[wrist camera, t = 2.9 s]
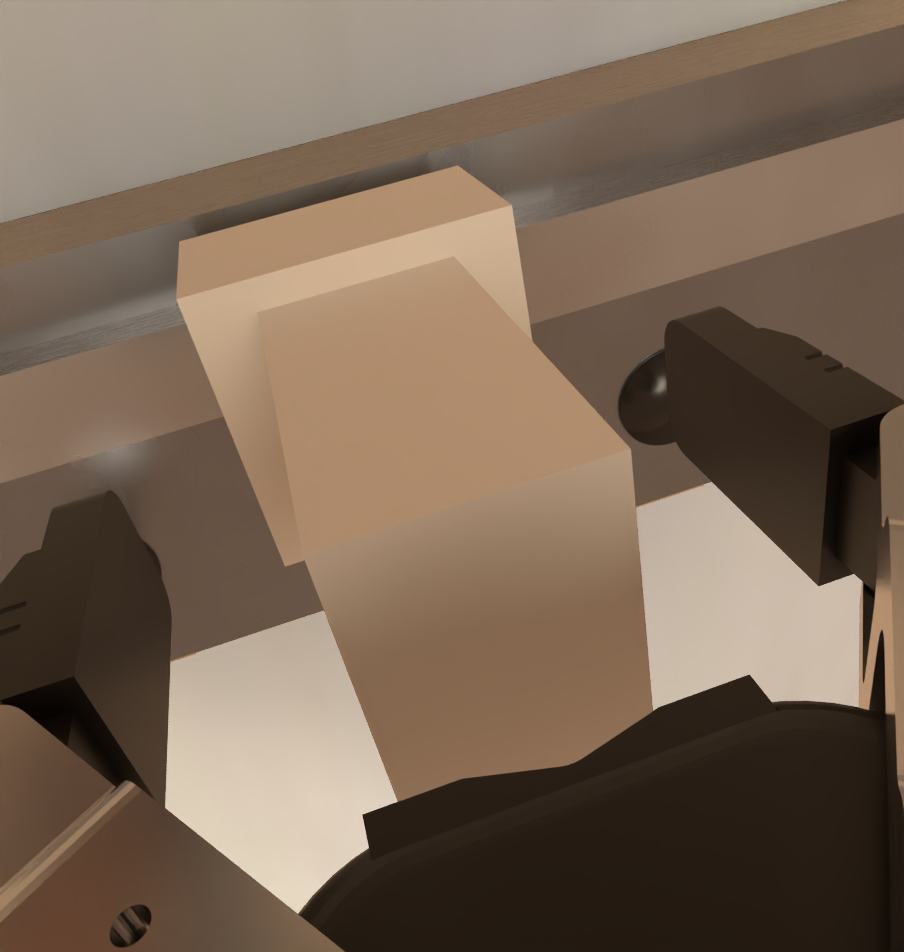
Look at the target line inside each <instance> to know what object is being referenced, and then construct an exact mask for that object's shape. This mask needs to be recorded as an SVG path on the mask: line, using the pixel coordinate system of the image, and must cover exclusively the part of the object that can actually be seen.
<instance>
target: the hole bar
mask: <svg viewBox="0 0 904 952" xmlns="http://www.w3.org/2000/svg"><path fill="white" fill-rule="evenodd" d="M454 166H459V167H461V168H462V169H463V170H465V171H466V172H467V173H469V174H470V175H472V176H473V177H474V178H476V179H477V180H478V181H480V182H481V183H483V184H484V185H485V186H487V187H488V188H489V189H491V190H492V191H493V192H495V193H496V194H498V195H499V196H500V197H502V198H503V199H504V200H506V201H507V202H509V203H510V204H511V205H512V209H513V215H514V222H515V229H516V235H517V242H518V248H519V255H520V262H521V268H522V275H523V281H524V288H525V295H526V301H527V308H528V314H529V321H530V328H531V334H532V341H533V343H534V344H535V345H536V346H537V347H538V348H539V349H540V350H541V352H542V353H543V354H544V355H545V356H546V357H547V358H548V359H549V360H550V361H551V362H552V364H553V365H554V366H555V367H556V368H557V369H558V370H559V371H560V372H561V373H562V374H563V376H564V377H565V378H566V379H567V380H568V381H569V382H570V383H571V384H572V385H573V386H574V387H575V389H576V390H577V391H578V392H579V393H580V394H581V395H582V396H583V397H584V398H585V399H586V401H587V402H588V403H589V404H590V405H591V406H592V407H593V408H594V409H595V410H596V411H597V413H598V414H599V415H600V416H601V417H602V418H603V419H604V420H605V421H606V422H607V423H608V425H609V426H610V427H611V428H612V429H613V430H614V431H615V432H616V433H617V434H618V435H619V437H620V438H621V439H622V440H623V441H624V442H625V443H626V444H627V445H628V446H629V447H630V448H631V456H632V468H633V480H634V492H635V504H636V507H639V506H642V505H645V504H648V503H651V502H654V501H657V500H660V499H663V498H666V497H669V496H672V495H675V494H678V493H681V492H685V491H688V490H691V489H694V488H697V487H700V486H703V485H704V484H706V483H709V482H712V481H711V480H710V479H709V478H708V477H707V476H705V475H704V474H703V473H702V472H701V471H700V470H699V469H698V468H697V467H696V466H695V465H694V464H693V463H692V462H691V461H690V460H689V459H688V458H687V457H686V456H685V455H684V454H683V453H682V451H681V450H680V448H679V447H678V445H677V443H676V441H675V439H674V436H673V434H672V431H671V427H670V423H669V417H668V402H667V383H666V364H665V345H664V335H665V329H666V326H667V324H668V323H669V322H670V321H671V320H674V319H678V318H681V317H684V316H688V315H691V314H694V313H697V312H701V311H704V310H707V309H711V308H714V307H718V306H720V307H724V308H726V309H727V310H729V311H730V312H732V313H734V314H735V315H737V316H738V317H740V318H742V319H743V320H745V321H746V322H748V323H750V324H751V325H753V326H754V327H756V328H758V329H759V328H762V327H763V328H767V329H770V330H774V331H778V332H782V333H786V334H790V335H794V336H797V337H799V338H800V339H802V340H804V341H806V342H807V343H809V344H811V345H812V346H814V347H816V348H817V349H819V350H821V351H822V354H823V355H826V354H827V355H829V356H831V357H832V358H834V359H836V360H837V361H839V362H841V363H842V365H843V367H844V368H845V367H849V368H851V369H852V370H854V371H856V372H857V373H859V374H861V375H862V376H864V377H866V378H867V379H869V380H871V381H872V382H874V383H876V384H877V385H879V386H881V387H882V388H884V389H886V390H887V391H889V392H891V393H892V394H894V395H896V396H897V397H899V398H901V399H902V400H904V0H847V1H843V2H839V3H835V4H832V5H828V6H824V7H820V8H816V9H813V10H809V11H805V12H801V13H797V14H794V15H790V16H786V17H782V18H778V19H775V20H771V21H767V22H763V23H760V24H756V25H752V26H748V27H744V28H741V29H737V30H733V31H729V32H725V33H722V34H718V35H714V36H710V37H706V38H703V39H699V40H695V41H691V42H688V43H684V44H680V45H676V46H672V47H669V48H665V49H661V50H657V51H653V52H650V53H646V54H642V55H638V56H634V57H631V58H627V59H623V60H619V61H616V62H612V63H608V64H604V65H600V66H597V67H593V68H589V69H585V70H581V71H578V72H574V73H570V74H566V75H563V76H559V77H555V78H551V79H547V80H544V81H540V82H536V83H532V84H528V85H525V86H521V87H517V88H513V89H509V90H506V91H502V92H498V93H494V94H491V95H487V96H483V97H479V98H475V99H472V100H468V101H464V102H460V103H456V104H453V105H449V106H445V107H441V108H437V109H434V110H430V111H426V112H422V113H419V114H415V115H411V116H407V117H403V118H400V119H396V120H392V121H388V122H384V123H381V124H377V125H373V126H369V127H365V128H362V129H358V130H354V131H350V132H347V133H343V134H339V135H335V136H331V137H328V138H324V139H320V140H316V141H312V142H309V143H305V144H301V145H297V146H293V147H290V148H286V149H282V150H278V151H275V152H271V153H267V154H263V155H259V156H256V157H252V158H248V159H244V160H240V161H237V162H233V163H229V164H225V165H222V166H218V167H214V168H210V169H206V170H203V171H199V172H195V173H191V174H187V175H184V176H180V177H176V178H172V179H168V180H165V181H161V182H157V183H153V184H150V185H146V186H142V187H138V188H134V189H131V190H127V191H123V192H119V193H115V194H112V195H108V196H104V197H100V198H96V199H93V200H89V201H85V202H81V203H78V204H74V205H70V206H66V207H62V208H59V209H55V210H51V211H47V212H43V213H40V214H36V215H32V216H28V217H24V218H21V219H17V220H13V221H9V222H6V223H2V224H0V583H1V582H2V581H3V580H4V579H5V577H6V576H7V575H8V574H9V572H10V571H11V570H12V569H13V568H14V566H15V565H16V564H17V563H18V561H19V560H20V559H21V558H22V556H23V555H24V554H27V553H30V552H34V551H37V550H40V549H41V546H42V543H43V539H44V535H45V532H46V528H47V524H48V521H49V517H50V513H51V511H52V509H53V508H54V507H56V506H59V505H62V504H65V503H69V502H72V501H75V500H78V499H82V498H85V497H88V496H92V495H95V494H98V493H101V492H105V491H108V490H111V491H113V492H114V493H115V494H116V495H117V496H118V497H119V499H120V500H121V502H122V503H123V505H124V507H125V509H126V511H127V513H128V515H129V516H130V518H131V520H132V522H133V524H134V526H135V528H136V530H137V532H138V534H139V536H140V537H141V539H142V541H143V543H144V545H145V547H146V549H147V551H148V553H149V555H150V557H151V559H152V560H153V562H154V564H155V566H156V568H157V570H158V572H159V574H160V576H161V578H162V580H163V583H164V585H165V588H166V591H167V595H168V598H169V602H170V607H171V615H172V629H171V656H170V662H172V661H175V660H178V659H181V658H184V657H187V656H190V655H193V654H196V652H199V651H202V650H205V649H208V648H211V647H214V646H217V645H220V644H223V643H226V642H229V641H232V640H235V639H238V638H241V637H244V636H247V635H250V634H253V633H256V632H259V631H262V630H265V629H268V628H271V627H274V626H277V625H280V624H283V623H286V622H289V621H292V620H295V619H298V618H301V617H304V616H307V615H310V614H314V613H317V612H320V611H323V610H324V609H323V606H322V604H321V601H320V599H319V596H318V594H317V591H316V588H315V586H314V583H313V581H312V578H311V575H310V573H309V570H308V568H307V565H306V563H305V560H304V561H301V562H298V563H295V564H292V565H289V566H286V567H285V566H284V563H283V561H282V558H281V556H280V553H279V551H278V548H277V546H276V543H275V541H274V539H273V536H272V534H271V531H270V529H269V526H268V524H267V521H266V519H265V516H264V514H263V512H262V509H261V507H260V504H259V502H258V499H257V497H256V494H255V492H254V489H253V487H252V485H251V482H250V480H249V477H248V475H247V472H246V470H245V467H244V465H243V462H242V460H241V457H240V455H239V453H238V450H237V448H236V445H235V443H234V440H233V438H232V435H231V433H230V430H229V428H228V426H227V423H226V421H225V418H224V416H223V413H222V411H221V408H220V406H219V403H218V401H217V399H216V396H215V394H214V391H213V389H212V386H211V384H210V381H209V379H208V376H207V374H206V371H205V369H204V367H203V364H202V362H201V359H200V357H199V354H198V352H197V349H196V347H195V344H194V342H193V340H192V337H191V335H190V332H189V330H188V327H187V325H186V322H185V320H184V317H183V315H182V313H181V310H180V308H179V305H178V303H177V300H176V292H177V274H178V256H179V241H183V240H187V239H190V238H194V237H198V236H201V235H205V234H209V233H212V232H216V231H220V230H223V229H227V228H231V227H234V226H238V225H242V224H245V223H249V222H252V221H256V220H260V219H263V218H267V217H271V216H274V215H278V214H282V213H285V212H289V211H293V210H296V209H300V208H304V207H307V206H311V205H315V204H318V203H322V202H326V201H329V200H333V199H337V198H340V197H344V196H348V195H351V194H355V193H359V192H362V191H366V190H370V189H373V188H377V187H381V186H384V185H388V184H392V183H395V182H399V181H403V180H406V179H410V178H414V177H417V176H421V175H425V174H428V173H432V172H436V171H439V170H443V169H447V168H450V167H454Z"/></svg>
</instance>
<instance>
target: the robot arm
mask: <svg viewBox="0 0 904 952" xmlns="http://www.w3.org/2000/svg"><path fill="white" fill-rule="evenodd" d="M664 345H665V364H666V383H667V402H668V417H669V423H670V427H671V431H672V434H673V436H674V439H675V441H676V443H677V445H678V447H679V448H680V450H681V451H682V453H683V454H684V455H685V456H686V457H687V458H688V459H689V460H690V461H691V462H692V463H693V464H694V465H695V466H696V467H697V468H698V469H699V470H700V471H701V472H702V473H703V474H704V475H705V476H707V477H708V478H709V479H710V480H711V481H712V482H713V483H714V484H715V485H716V486H717V487H718V488H719V489H720V490H721V491H722V492H723V493H724V494H725V495H726V496H727V497H728V498H729V499H730V500H731V501H732V502H733V503H734V504H735V505H736V506H737V507H738V508H739V509H740V510H741V511H742V512H743V513H744V514H745V515H746V516H747V517H748V518H749V519H750V520H751V521H753V522H754V523H755V524H756V525H757V526H758V527H759V528H760V529H761V530H762V531H763V532H764V533H765V534H766V535H767V536H768V537H769V538H770V539H771V540H772V541H773V542H774V543H775V544H776V545H777V546H778V547H779V548H780V549H781V550H782V551H783V552H784V553H785V554H786V555H787V556H788V557H789V558H790V559H791V560H792V561H793V562H794V563H795V564H796V565H797V566H799V567H800V568H801V569H802V570H803V571H804V572H805V573H806V574H807V575H808V576H809V577H810V578H811V579H812V580H813V581H814V582H815V583H816V584H817V585H818V586H821V585H823V584H826V583H829V582H832V581H835V580H838V579H841V578H843V577H846V576H849V575H852V574H855V575H856V576H857V577H858V578H859V579H861V580H862V587H861V595H860V623H859V707H853V706H847V705H842V704H836V703H826V702H814V701H779V702H771V701H770V700H769V698H768V697H767V696H766V695H765V693H764V692H763V691H762V690H761V688H760V687H759V686H758V685H757V683H756V682H755V681H754V680H753V678H752V677H751V676H750V675H747V676H744V677H741V678H739V679H736V680H733V681H730V682H728V683H725V684H722V685H719V686H717V687H714V688H711V689H708V690H706V691H703V692H700V693H697V694H695V695H692V696H689V697H686V698H683V699H681V700H678V701H675V702H672V703H670V704H667V705H664V706H661V707H659V708H657V709H656V710H654V711H653V712H651V713H650V714H648V715H647V716H645V717H644V718H642V719H641V720H639V721H638V722H636V723H635V724H633V725H632V726H630V727H629V728H627V729H626V730H624V731H623V732H621V733H620V734H618V735H617V736H615V737H614V738H612V739H611V740H609V741H608V742H606V743H605V744H603V745H602V746H600V747H599V748H597V749H596V750H594V751H593V752H591V753H590V754H588V755H587V756H585V757H584V758H582V759H580V760H579V761H577V762H575V763H572V764H569V765H566V766H561V767H553V768H545V769H536V770H528V771H520V772H512V773H504V774H496V775H488V776H480V777H472V778H464V779H460V780H457V781H454V782H451V783H449V784H446V785H443V786H440V787H438V788H435V789H432V790H429V791H427V792H424V793H421V794H418V795H415V796H413V797H410V798H407V799H404V800H402V801H399V802H396V803H393V804H391V805H388V806H385V807H382V808H380V809H377V810H374V811H371V812H369V813H366V814H363V820H364V825H365V830H366V835H367V840H368V845H369V849H367V850H366V851H364V852H363V853H361V854H360V855H358V856H357V857H355V858H354V859H352V860H351V861H350V862H349V863H347V864H346V865H345V866H344V867H343V868H341V869H340V870H339V871H338V872H337V873H335V874H334V875H333V876H332V877H331V878H330V879H329V880H328V881H327V882H326V883H325V884H324V885H323V886H322V887H321V888H320V889H319V890H318V891H317V892H316V893H315V894H314V895H313V896H312V897H311V899H310V900H309V901H308V902H307V904H306V905H305V906H304V907H303V909H302V910H301V911H300V912H299V914H297V913H296V912H295V911H293V910H292V909H291V908H290V907H288V906H287V905H286V904H285V903H283V902H282V901H281V900H280V899H278V898H277V897H276V896H275V895H273V894H272V893H271V892H270V891H268V890H267V889H266V888H265V887H263V886H262V885H261V884H260V883H258V882H257V881H256V880H255V879H253V878H252V877H251V876H249V875H248V874H247V873H246V872H244V871H243V870H242V869H241V868H239V867H238V866H237V865H236V864H234V863H233V862H232V861H231V860H229V859H228V858H227V857H226V856H224V855H223V854H222V853H221V852H219V851H218V850H217V849H216V848H214V847H213V846H212V845H211V844H209V843H208V842H207V841H206V840H204V839H203V838H202V837H201V836H199V835H198V834H197V833H196V832H194V831H193V830H192V829H191V828H189V827H188V826H187V825H186V824H184V823H183V822H182V821H181V820H179V819H178V818H177V817H176V816H174V815H173V814H172V813H170V812H169V811H168V810H167V809H165V792H166V764H167V737H168V710H169V683H170V656H171V629H172V615H171V607H170V602H169V598H168V595H167V591H166V588H165V585H164V583H163V580H162V578H161V576H160V574H159V572H158V570H157V568H156V566H155V564H154V562H153V560H152V559H151V557H150V555H149V553H148V551H147V549H146V547H145V545H144V543H143V541H142V539H141V537H140V536H139V534H138V532H137V530H136V528H135V526H134V524H133V522H132V520H131V518H130V516H129V515H128V513H127V511H126V509H125V507H124V505H123V503H122V502H121V500H120V499H119V497H118V496H117V495H116V494H115V493H114V492H113V491H111V490H108V491H105V492H101V493H98V494H95V495H92V496H88V497H85V498H82V499H78V500H75V501H72V502H69V503H65V504H62V505H59V506H56V507H54V508H53V509H52V511H51V513H50V517H49V521H48V524H47V528H46V532H45V535H44V539H43V543H42V546H41V549H40V550H37V551H34V552H30V553H27V554H24V555H23V556H22V558H21V559H20V560H19V561H18V563H17V564H16V565H15V566H14V568H13V569H12V570H11V571H10V572H9V574H8V575H7V576H6V577H5V579H4V580H3V581H2V582H1V583H0V952H904V400H902V399H901V398H899V397H897V396H896V395H894V394H892V393H891V392H889V391H887V390H886V389H884V388H882V387H881V386H879V385H877V384H876V383H874V382H872V381H871V380H869V379H867V378H866V377H864V376H862V375H861V374H859V373H857V372H856V371H854V370H852V369H851V368H849V367H845V368H844V367H843V365H842V363H841V362H839V361H837V360H836V359H834V358H832V357H831V356H829V355H827V354H826V355H823V354H822V351H821V350H819V349H817V348H816V347H814V346H812V345H811V344H809V343H807V342H806V341H804V340H802V339H800V338H799V337H797V336H794V335H790V334H786V333H782V332H778V331H774V330H770V329H767V328H763V327H762V328H759V329H758V328H756V327H754V326H753V325H751V324H750V323H748V322H746V321H745V320H743V319H742V318H740V317H738V316H737V315H735V314H734V313H732V312H730V311H729V310H727V309H726V308H724V307H720V306H718V307H714V308H711V309H707V310H704V311H701V312H697V313H694V314H691V315H688V316H684V317H681V318H678V319H674V320H671V321H670V322H669V323H668V324H667V326H666V329H665V335H664Z"/></svg>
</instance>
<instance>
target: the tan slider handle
mask: <svg viewBox="0 0 904 952" xmlns="http://www.w3.org/2000/svg"><path fill="white" fill-rule="evenodd" d="M176 300H177V303H178V305H179V308H180V310H181V313H182V315H183V317H184V320H185V322H186V325H187V327H188V330H189V332H190V335H191V337H192V340H193V342H194V344H195V347H196V349H197V352H198V354H199V357H200V359H201V362H202V364H203V367H204V369H205V371H206V374H207V376H208V379H209V381H210V384H211V386H212V389H213V391H214V394H215V396H216V399H217V401H218V403H219V406H220V408H221V411H222V413H223V416H224V418H225V421H226V423H227V426H228V428H229V430H230V433H231V435H232V438H233V440H234V443H235V445H236V448H237V450H238V453H239V455H240V457H241V460H242V462H243V465H244V467H245V470H246V472H247V475H248V477H249V480H250V482H251V485H252V487H253V489H254V492H255V494H256V497H257V499H258V502H259V504H260V507H261V509H262V512H263V514H264V516H265V519H266V521H267V524H268V526H269V529H270V531H271V534H272V536H273V539H274V541H275V543H276V546H277V548H278V551H279V553H280V556H281V558H282V561H283V563H284V566H285V567H286V566H289V565H292V564H295V563H298V562H301V561H304V560H305V563H306V565H307V568H308V570H309V573H310V575H311V578H312V581H313V583H314V586H315V588H316V591H317V594H318V596H319V599H320V601H321V604H322V606H323V609H324V612H325V614H326V617H327V619H328V622H329V625H330V627H331V630H332V632H333V635H334V637H335V640H336V643H337V645H338V648H339V650H340V653H341V656H342V658H343V661H344V663H345V666H346V669H347V671H348V674H349V676H350V679H351V681H352V684H353V687H354V689H355V692H356V694H357V697H358V700H359V702H360V705H361V707H362V710H363V712H364V715H365V718H366V720H367V723H368V725H369V728H370V731H371V733H372V736H373V738H374V741H375V743H376V746H377V749H378V751H379V754H380V756H381V759H382V762H383V764H384V767H385V769H386V772H387V774H388V777H389V780H390V782H391V785H392V787H393V790H394V793H395V795H396V798H397V800H398V802H399V801H402V800H404V799H407V798H410V797H413V796H415V795H418V794H421V793H424V792H427V791H429V790H432V789H435V788H438V787H440V786H443V785H446V784H449V783H451V782H454V781H457V780H460V779H464V778H472V777H480V776H488V775H496V774H504V773H512V772H520V771H528V770H536V769H545V768H553V767H561V766H566V765H569V764H572V763H575V762H577V761H579V760H580V759H582V758H584V757H585V756H587V755H588V754H590V753H591V752H593V751H594V750H596V749H597V748H599V747H600V746H602V745H603V744H605V743H606V742H608V741H609V740H611V739H612V738H614V737H615V736H617V735H618V734H620V733H621V732H623V731H624V730H626V729H627V728H629V727H630V726H632V725H633V724H635V723H636V722H638V721H639V720H641V719H642V718H644V717H645V716H647V715H648V714H650V713H651V712H653V706H652V694H651V683H650V671H649V659H648V647H647V635H646V623H645V611H644V599H643V587H642V575H641V564H640V552H639V540H638V528H637V516H636V504H635V492H634V480H633V468H632V456H631V448H630V447H629V446H628V445H627V444H626V443H625V442H624V441H623V440H622V439H621V438H620V437H619V435H618V434H617V433H616V432H615V431H614V430H613V429H612V428H611V427H610V426H609V425H608V423H607V422H606V421H605V420H604V419H603V418H602V417H601V416H600V415H599V414H598V413H597V411H596V410H595V409H594V408H593V407H592V406H591V405H590V404H589V403H588V402H587V401H586V399H585V398H584V397H583V396H582V395H581V394H580V393H579V392H578V391H577V390H576V389H575V387H574V386H573V385H572V384H571V383H570V382H569V381H568V380H567V379H566V378H565V377H564V376H563V374H562V373H561V372H560V371H559V370H558V369H557V368H556V367H555V366H554V365H553V364H552V362H551V361H550V360H549V359H548V358H547V357H546V356H545V355H544V354H543V353H542V352H541V350H540V349H539V348H538V347H537V346H536V345H535V344H534V343H533V341H532V334H531V328H530V321H529V314H528V308H527V301H526V295H525V288H524V281H523V275H522V268H521V262H520V255H519V248H518V242H517V235H516V229H515V222H514V215H513V209H512V205H511V204H510V203H509V202H507V201H506V200H504V199H503V198H502V197H500V196H499V195H498V194H496V193H495V192H493V191H492V190H491V189H489V188H488V187H487V186H485V185H484V184H483V183H481V182H480V181H478V180H477V179H476V178H474V177H473V176H472V175H470V174H469V173H467V172H466V171H465V170H463V169H462V168H461V167H459V166H454V167H450V168H447V169H443V170H439V171H436V172H432V173H428V174H425V175H421V176H417V177H414V178H410V179H406V180H403V181H399V182H395V183H392V184H388V185H384V186H381V187H377V188H373V189H370V190H366V191H362V192H359V193H355V194H351V195H348V196H344V197H340V198H337V199H333V200H329V201H326V202H322V203H318V204H315V205H311V206H307V207H304V208H300V209H296V210H293V211H289V212H285V213H282V214H278V215H274V216H271V217H267V218H263V219H260V220H256V221H252V222H249V223H245V224H242V225H238V226H234V227H231V228H227V229H223V230H220V231H216V232H212V233H209V234H205V235H201V236H198V237H194V238H190V239H187V240H183V241H179V256H178V274H177V292H176Z"/></svg>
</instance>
